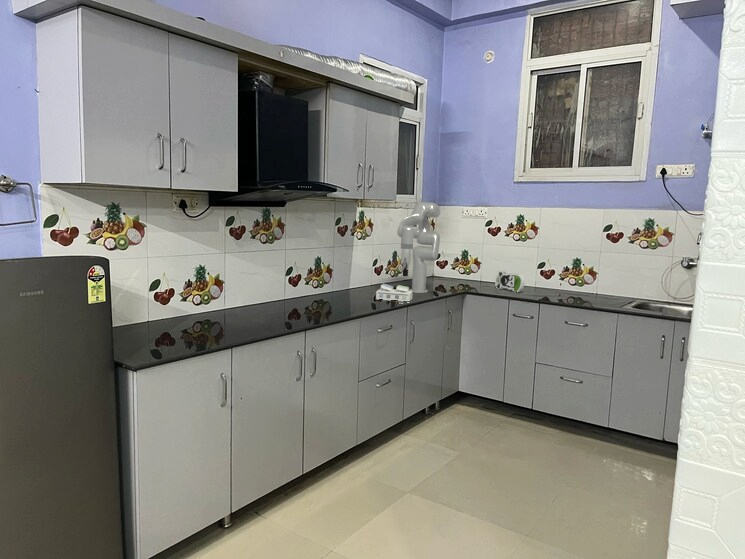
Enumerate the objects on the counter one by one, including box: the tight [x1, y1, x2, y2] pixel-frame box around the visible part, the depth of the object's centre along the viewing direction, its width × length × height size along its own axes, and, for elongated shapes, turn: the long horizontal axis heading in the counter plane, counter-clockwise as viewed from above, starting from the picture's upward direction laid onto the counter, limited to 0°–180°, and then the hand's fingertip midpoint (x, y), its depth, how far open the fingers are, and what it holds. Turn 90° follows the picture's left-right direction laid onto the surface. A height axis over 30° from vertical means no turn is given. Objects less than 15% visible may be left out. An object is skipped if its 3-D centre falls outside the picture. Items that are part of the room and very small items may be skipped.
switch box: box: [375, 287, 414, 302], centre depth 350 cm, size 13×21×6 cm, turn 78°
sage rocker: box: [395, 284, 410, 292], centre depth 349 cm, size 6×7×2 cm
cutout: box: [494, 270, 525, 293], centre depth 404 cm, size 15×3×25 cm
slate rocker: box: [380, 283, 394, 291], centre depth 351 cm, size 6×7×2 cm
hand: (405, 276), depth 347 cm, fingers closed
